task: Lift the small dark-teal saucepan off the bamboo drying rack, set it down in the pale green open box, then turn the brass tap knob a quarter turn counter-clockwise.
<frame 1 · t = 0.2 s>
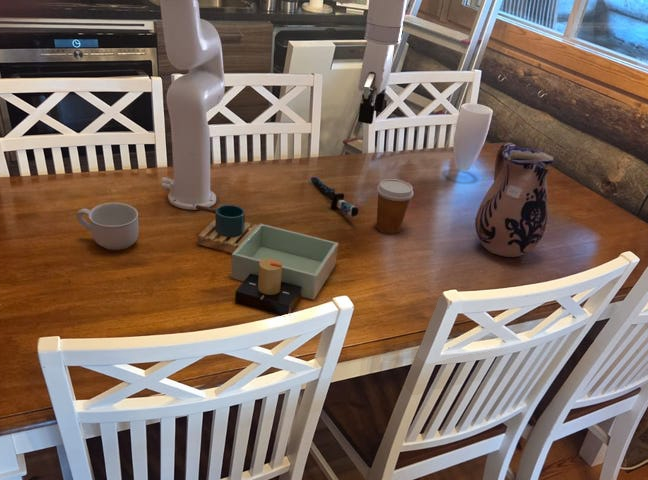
hand: (370, 116, 142), 31 cm above the table, tool pointing down, fingers open, 9 cm apart
rack: (229, 241, 154), on the table
tap knob: (270, 275, 132), point 6 cm above the table, hinge at 0.0°
pan: (229, 230, 152), point 3 cm above the table, touching rack
black dial base: (268, 300, 135), on the table
pale green open box: (284, 271, 145), on the table
knife: (331, 203, 177), on the table
white vase: (459, 177, 203), on the table
ceramic pitcher: (497, 246, 167), on the table
teacup: (110, 243, 147), on the table
disposable coffee cup: (387, 228, 169), on the table
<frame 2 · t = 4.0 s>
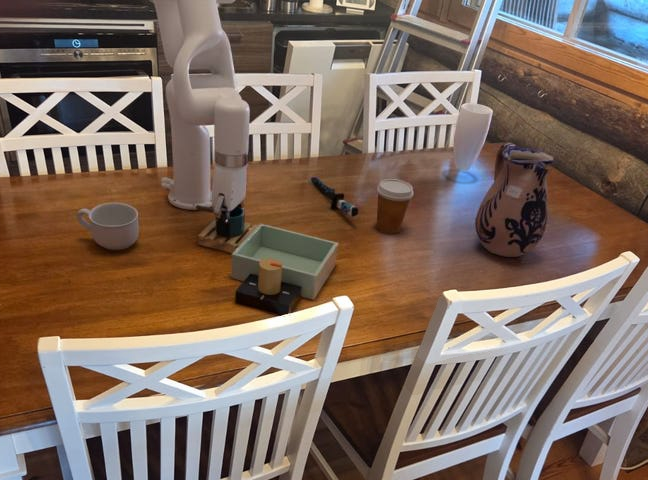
hand: (229, 228, 152), 3 cm above the table, tool pointing down, fingers closed on pan, 6 cm apart
pan: (229, 230, 152), point 3 cm above the table, touching gripper, rack
everything else where it was.
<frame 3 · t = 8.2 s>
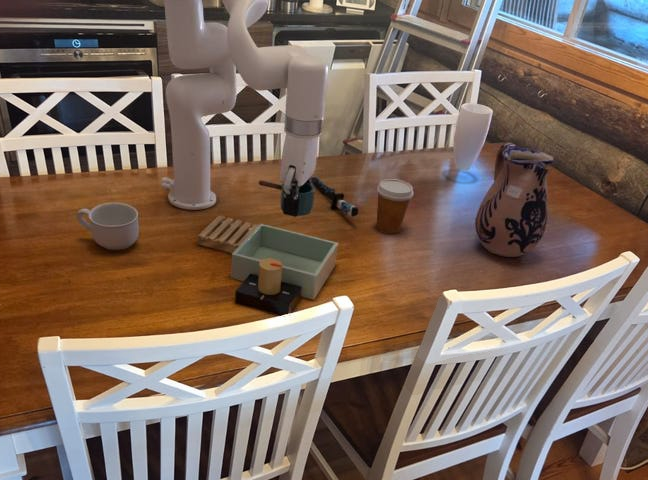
hand: (296, 207, 136), 16 cm above the table, tool pointing down, fingers closed on pan, 6 cm apart
pan: (296, 208, 136), point 16 cm above the table, touching gripper
everything else where it was.
when the fingers open (1 cm above the table, at t = 12.3 s): pan stays where it is, resting on pale green open box.
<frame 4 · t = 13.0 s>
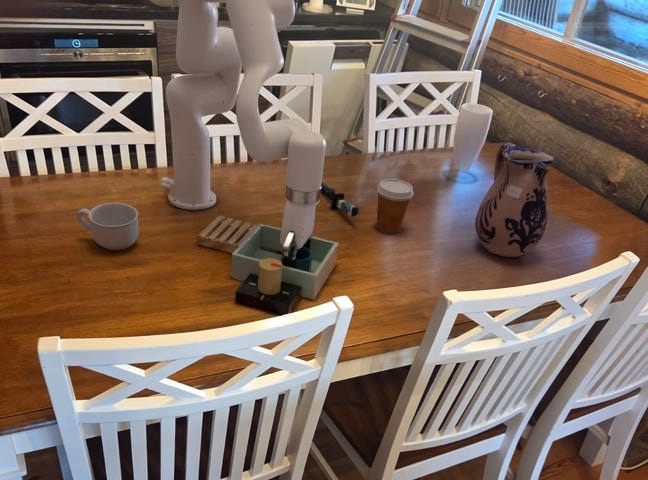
hand: (295, 263, 143), 3 cm above the table, tool pointing down, fingers open, 9 cm apart
pan: (295, 271, 145), point 1 cm above the table, touching pale green open box
everything else where it was.
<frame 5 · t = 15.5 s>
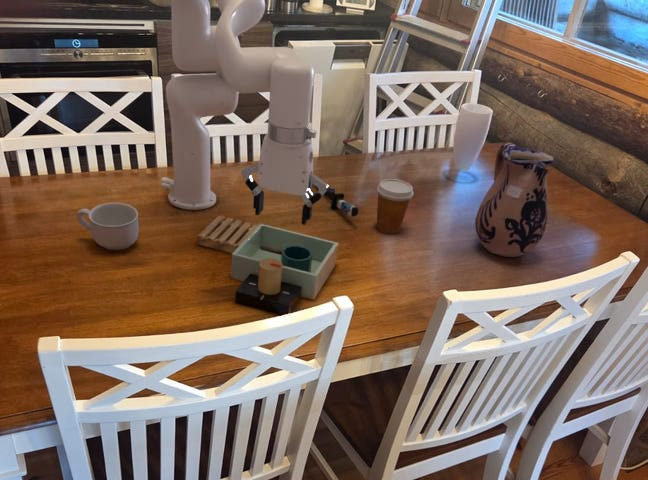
hand: (282, 217, 127), 18 cm above the table, tool pointing down, fingers open, 9 cm apart
nothing on the table moved.
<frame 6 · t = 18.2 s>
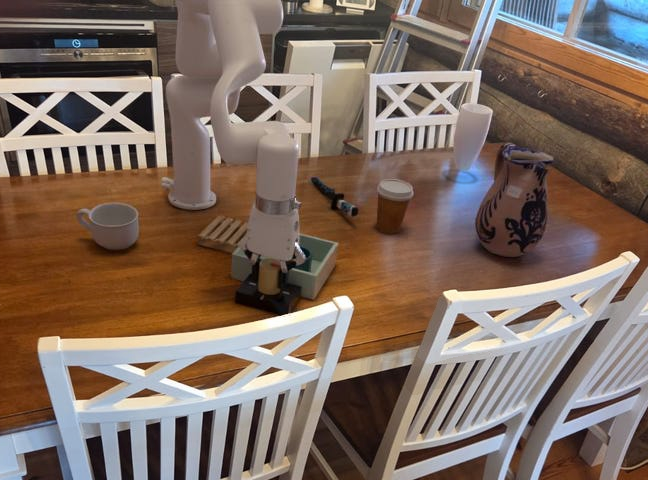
hand: (269, 281, 132), 5 cm above the table, tool pointing down, fingers closed on tap knob, 4 cm apart
tap knob: (270, 275, 132), point 6 cm above the table, hinge at 0.1°, touching gripper
everything else where it was.
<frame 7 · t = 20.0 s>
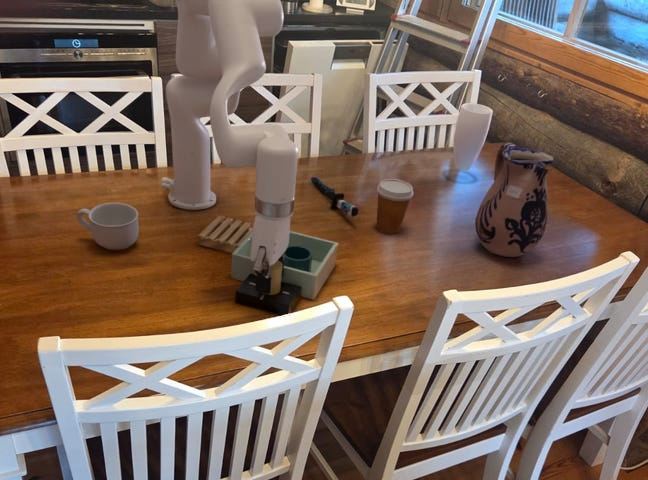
hand: (269, 283, 132), 5 cm above the table, tool pointing down, fingers open, 6 cm apart
tap knob: (270, 275, 132), point 6 cm above the table, hinge at 87.9°
everything else where it was.
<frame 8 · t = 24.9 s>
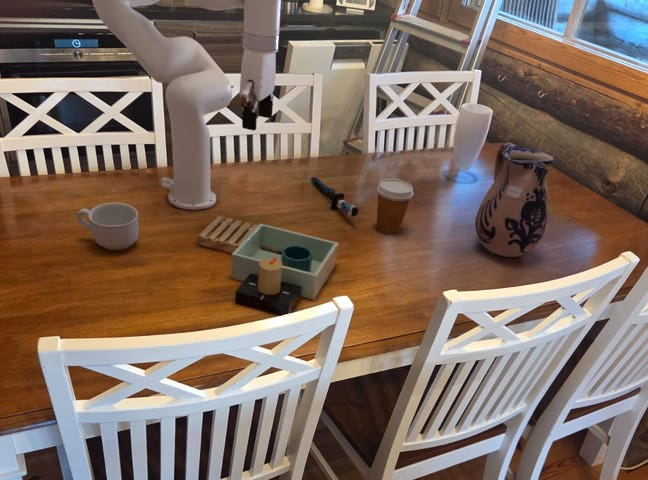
hand: (257, 122, 145), 26 cm above the table, tool pointing down, fingers open, 9 cm apart
nothing on the table moved.
at the end: pan inside the target area in the pale green open box (2.5 cm from its centre), point 0.6 cm above the pale green open box's base; pan tilted 0°; tap knob at +88° (first picture: +0°) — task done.
